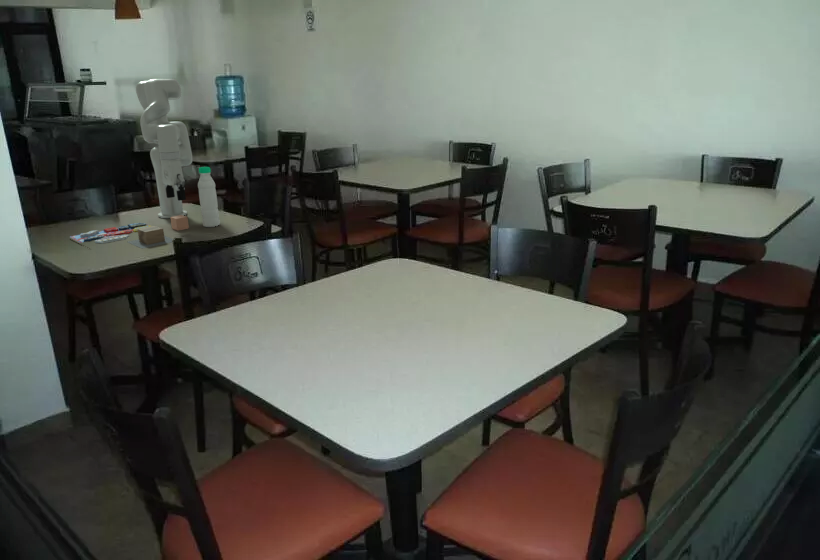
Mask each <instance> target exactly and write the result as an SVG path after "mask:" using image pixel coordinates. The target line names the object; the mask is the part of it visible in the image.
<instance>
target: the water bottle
mask: <svg viewBox="0 0 820 560" xmlns="http://www.w3.org/2000/svg"><path fill="white" fill-rule="evenodd" d="M211 170H212V169H211V167H209V166H201V167H199V168H198V174H199V175H200V177H199V180H198V181H197V188H198V197H199V204H200V205H199V206H200V208H201V210H200V211H201V212H200V213H201V217H202V219H201V221H202V226H203V227H205V228H216V227H219V226H220V224H221V221H220V212H219V209H218V207H219V206H218V196H217V190H216V183H215V181H214V179H213V178H212V176H211V172H212V171H211ZM218 225H219V226H218ZM215 226H216V227H215Z"/></svg>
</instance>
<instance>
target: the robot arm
mask: <svg viewBox="0 0 820 560" xmlns="http://www.w3.org/2000/svg"><path fill="white" fill-rule="evenodd" d="M135 92H136V95H137V99H138V101H139V104H140V106H141V107H142V109H143V112H142V113H141V116H140V121H139V124H140V128H141V129H140V130H141V134H142V137H143V140H144V141H145V142H147V144H157V146H154V147H153V148H151V150H150V151H149V155H150V160H151V164H152V167H153V170H154V175H155V181H156V187H157V193H158V200H159V209H160V212H159V213H157V216H158V218H161V219H171V218H170V217H173V216H179V215H185V216H187V215H188V211H187V210H184V207H183V201H185V200H186V199H187V195H186V191H185V190H186V188H185V187H186V180H185V179H184V173H183V169H182V167H184V166H185V167H187V166H190V165H191V164H192V163H193V152H192V147H191V143H190V137H189V136H190V135H189V132H188V128H187V125H186V124H185V123H184V122H182V121H180V120H179V121H178V120H177V121H174V120H173V121H170V120H169V118H168V114H169V112H170V110H171V105H170V101H177V100H179V99H181V97H182V88H181V85H180V83H179V81H178V80H177V79H176V78H152V79H148V80H143V81H139V82H138V83H136V85H135Z"/></svg>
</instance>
